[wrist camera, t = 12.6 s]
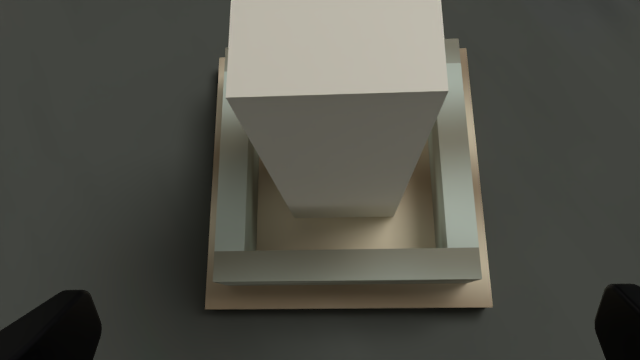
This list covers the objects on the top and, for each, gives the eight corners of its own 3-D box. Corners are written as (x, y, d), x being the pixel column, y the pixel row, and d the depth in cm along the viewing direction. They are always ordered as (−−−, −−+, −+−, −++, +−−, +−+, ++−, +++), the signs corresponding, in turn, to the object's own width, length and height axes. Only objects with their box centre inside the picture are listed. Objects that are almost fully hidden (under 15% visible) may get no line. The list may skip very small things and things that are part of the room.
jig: (486, 307, 21) (511, 305, 18) (211, 309, 22) (186, 308, 18) (461, 58, 24) (479, 18, 21) (224, 67, 25) (205, 29, 22)
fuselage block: (393, 216, 21) (448, 90, 9) (294, 218, 22) (225, 97, 10) (389, 124, 23) (433, -92, 11) (295, 126, 23) (235, -81, 11)
